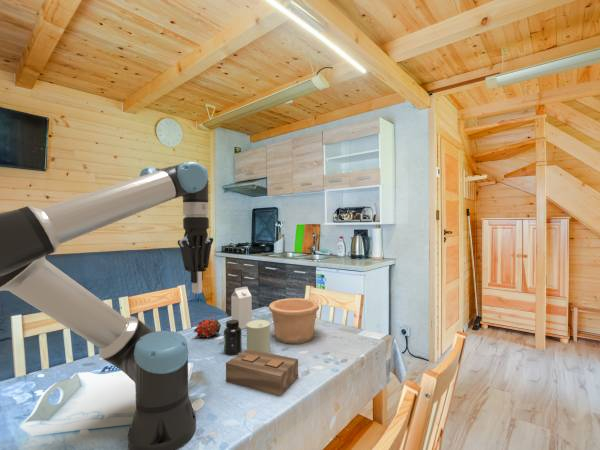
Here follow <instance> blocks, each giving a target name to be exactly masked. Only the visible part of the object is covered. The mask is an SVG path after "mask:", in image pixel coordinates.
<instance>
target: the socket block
mask: <svg viewBox="0 0 600 450" xmlns="http://www.w3.org/2000/svg"><path fill="white" fill-rule="evenodd" d="M249 354H251V355H255V356H259V359H257V360H256V361H255V362H253V363H251V362H247V361H242V359H243V358H244V357H246V356H247V355H249ZM272 359H274V360H278V361H283V364H282V365H281V366H279V367H278V368H273V367H268V366H266V364H267V363H268V362H269V361H271V360H272ZM298 378H299V359H298V358H294V357H290V356H284V355H280V354H275V353H271V352H270V353H266V352H261V351H257V350H252V349H247V348H246V349H245V350H243V351H241V352H240V353H239V354H236V356H234V357H233V358H231V359H230V360H228V361H226V362H225V382H226V383H227V382H228V383H232V384H234V385H238V386H241V387H245V388H248V389H253V390H256V391H259V392H263V393H268V394H271V395H274V396H277V397H281V396H282V395H283V394H284V393H285V392H286V391H287V390H288V389H290V387H291V386H292V385H293V383H295V382H296V380H297V379H298Z"/></svg>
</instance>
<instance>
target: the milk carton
mask: <svg viewBox="0 0 600 450" xmlns="http://www.w3.org/2000/svg"><path fill="white" fill-rule="evenodd" d="M230 298H231V299H230V300H231V301H230V303H231V305H230V306H231V308H230V309H231V312H230V313H231V320H238V321H239V326H238V327H240V328H241V330H244V329H247V326H246V324H247V323H248V322H251V321H253V316H252V315H253V312H252V311H253V308H252V307H253V305H252V303H253V302H252V294H251V292H250V291H249V287H248V286H243V287H242V286H241V287H236V288H234V292H233V293H232V294H231V297H230Z"/></svg>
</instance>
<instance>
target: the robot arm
mask: <svg viewBox="0 0 600 450" xmlns="http://www.w3.org/2000/svg"><path fill="white" fill-rule="evenodd" d="M208 173H209V172H208V168H207V167H205V166H203V165H202V164H200V163H198V162H195V161H185V162H183V163H182V162H181V163H179V164H175V165H171V166H167V167H163V168H156V167H143V168H142V170H140V173H139V176H138V177H134V178H131V179H128V180H125V181H122V182H119V183H116V184H113V185H110V186H107V187H103V188H100V189H96V190H93V191H90V192H88V193H84V194H81V195H80V194H79V195H77V196H74V197H71V198H68V199H66V200H61V201H59V202H54V203H52V204H49V205H46V206H43V207H38V208H37V207H35V206H34V207H33V206H30V205H28V206H24V207H20V208H17V209H14V210H9V211H3V212H0V292H3V291H7V292H10V293H11V294H13V295H15V296H16V297H18V298H19V299H20V300H22V301H24V302H26V303H27V304H29V305H31V306H32V307H34V308H35V309H37V310H39V311H40V312H41V313H44V314H45V315H46V316H48V317H50V318H51V319H52V320H54V321H56V322H58V323H59V324H61V325H62V326H64V327H65V328H67V329H69V330H70V331H71V332H73V333H75V334H76V335H78V336H79V337H81V338H83V339H84V340H86V341H88V342H90V343H91V344H93V345H94V346H95V347H96V348H98V355H99V357H100V358H101V359H102V360H104V361H105V362H108V363H109V364H111V365H112V366H114V367H115V368H117V369H119V370H120V371H122V373H124V374H125V375H126V376H127V377H129V379H131V380H132V381H133V382H134V386H135V387H134V388H135V411H134V413H133V417H132V421H131V425H130V427H129V430H128V433H127V447H128V450H178V449H180V448H182V447H183V446H184V445H185V444H187V443H188V442H189V441H190V440H191V439H192V438H193V436H194V435H195V433H196V430H197V417H196V412H195V411H194V408H193V405H192V403H191V401H190V397H189V348H188V342H187V339H186V337H185V336H184V335H183V334H181V333H179V332H177V331H169V330H157V331H155V330H153V329H152V328H151V327H149V326H148V325H147V324H145V323H144V322H143V321H142V320H140V319H139V318H137V317H135V316H129V317H125V316H123V314H121V313H119V312H118V311H117V310H116V309H114V308H113V307H111V306H110V305H108V304H107V303H106V302H104V301H103V300H101V299H100V298H99V297H97V295H95V294H93V293H92V292H91V291H89V290H88V289H86V288H85V287H84V286H82V285H81V284H80V283H78V282H77V281H76V280H74V278H71V277H70V276H69V275H68V274H66V273H65V272H63V271H62V270H61V269H59V268H58V267H57V266H55V265H54V264H53V263H51V262H50V261H48V260H47V259H46V256H48V255H51V254H54V253H56V252H57V251H58V248H59V246H60V245H61V244H65V243H66V242H69V241H72V240H74V239H76V238H79V237H81V236H84V235H87V234H89V233H92V232H94V231H97V230H98V229H102V228H105V227H106V226H109V225H112V224H114V223H117V222H119V221H122V220H124V219H127V218H128V217H132V216H134V215H136V214H139V213H142V212H145V211H146V210H149V209H152V208H154V207H157V206H159V205H162V204H164V203H166V202H169V201H172V200H174V199H177V198H179V197H182V216H184V217H183V218H182V224H183V225H182V227H183V229H184V234H183V238H182V239H178V240H177V245H178V246H179V248H180V252H181V257H182V261H183V266H184V267H183V268H184V271H186V272H188V273H190V283H191V293H193V294H197V295H198V294H203V281H204V272H206V270H207V269H208V268H209V264H210V262H209V261H210V257H211V250H212V249H211V248H212V244H213V243H214V238H213V237H210V236H208V235H209V234H208V229H209V228H210V219H209V217H207V216H209V174H208Z"/></svg>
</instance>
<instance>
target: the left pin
mask: <svg viewBox="0 0 600 450" xmlns="http://www.w3.org/2000/svg"><path fill="white" fill-rule="evenodd" d="M257 359H259V356H255V355H251V354H249V355H247V356H246V357H244V358H243V359H242V361H247V362H251V363H253V362H255V361H256V360H257Z"/></svg>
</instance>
